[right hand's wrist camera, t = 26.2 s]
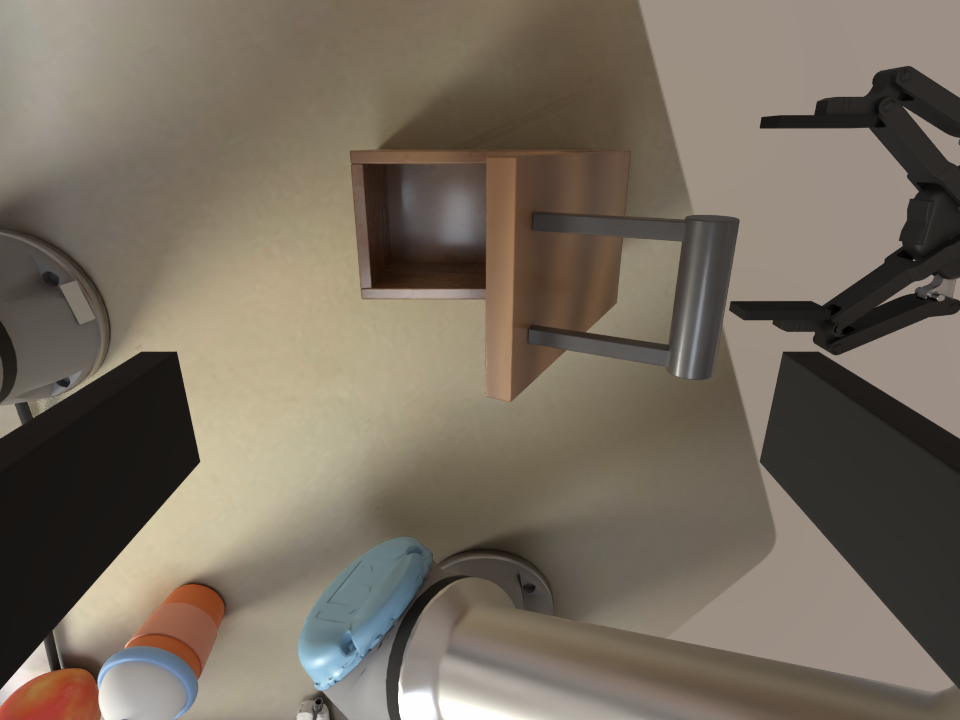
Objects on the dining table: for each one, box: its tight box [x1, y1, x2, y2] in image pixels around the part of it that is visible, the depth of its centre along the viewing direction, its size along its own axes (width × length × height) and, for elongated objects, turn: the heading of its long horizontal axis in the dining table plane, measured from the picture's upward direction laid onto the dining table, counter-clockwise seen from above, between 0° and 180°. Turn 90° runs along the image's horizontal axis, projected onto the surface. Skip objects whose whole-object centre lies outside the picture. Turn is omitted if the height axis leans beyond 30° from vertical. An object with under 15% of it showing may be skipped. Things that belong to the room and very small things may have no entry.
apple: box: [0, 668, 101, 720], centre depth 62 cm, size 10×10×10 cm
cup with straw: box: [98, 584, 225, 720], centre depth 54 cm, size 9×9×18 cm
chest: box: [350, 149, 611, 299], centre depth 42 cm, size 17×10×10 cm, turn 90°
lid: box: [485, 151, 739, 402], centre depth 28 cm, size 18×10×9 cm
